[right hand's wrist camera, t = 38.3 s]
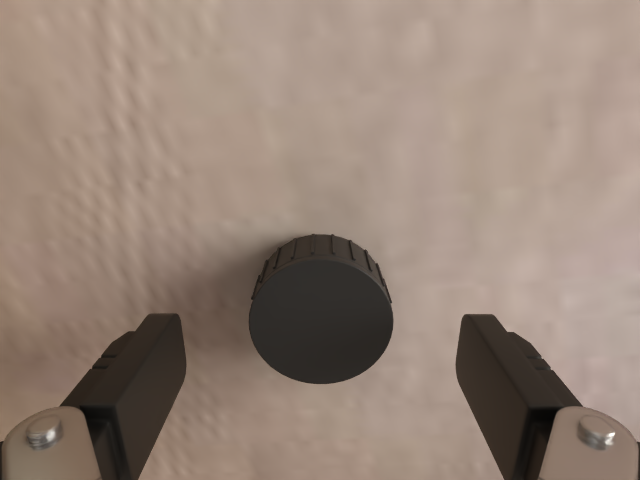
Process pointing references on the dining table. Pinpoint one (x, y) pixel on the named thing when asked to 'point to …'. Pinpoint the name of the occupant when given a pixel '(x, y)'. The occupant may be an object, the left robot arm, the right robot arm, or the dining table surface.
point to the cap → (321, 310)
